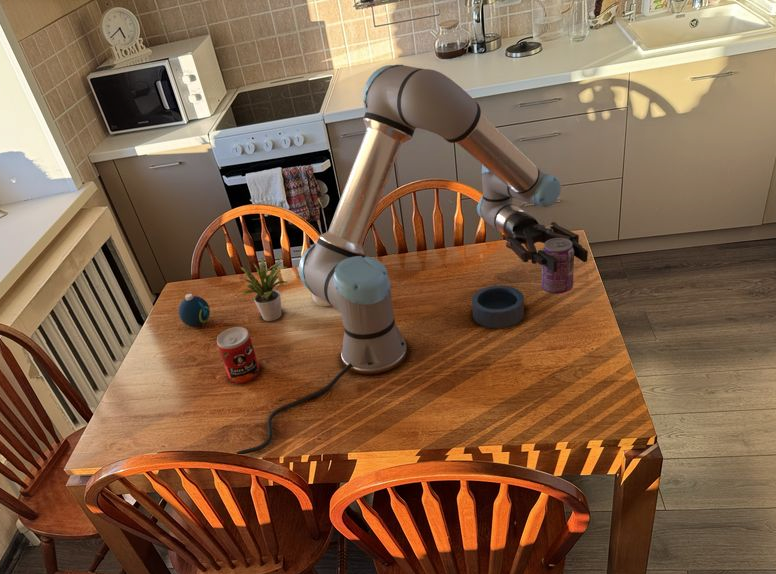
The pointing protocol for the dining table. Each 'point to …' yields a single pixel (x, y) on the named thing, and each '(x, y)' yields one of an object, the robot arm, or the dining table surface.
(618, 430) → the dining table surface
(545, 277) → the beverage can
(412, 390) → the dining table surface
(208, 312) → the christmas ornament
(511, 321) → the dark grey bowl
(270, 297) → the house plant
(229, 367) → the canned food
